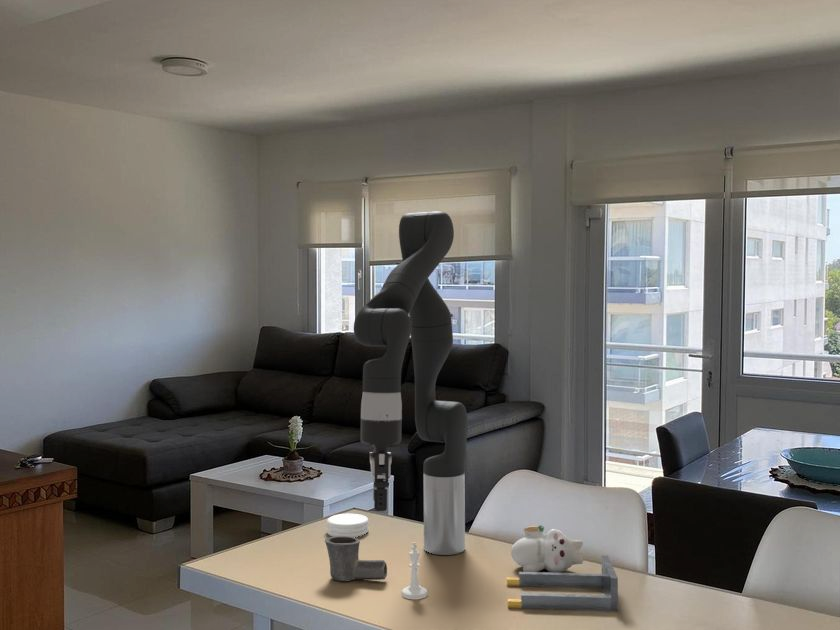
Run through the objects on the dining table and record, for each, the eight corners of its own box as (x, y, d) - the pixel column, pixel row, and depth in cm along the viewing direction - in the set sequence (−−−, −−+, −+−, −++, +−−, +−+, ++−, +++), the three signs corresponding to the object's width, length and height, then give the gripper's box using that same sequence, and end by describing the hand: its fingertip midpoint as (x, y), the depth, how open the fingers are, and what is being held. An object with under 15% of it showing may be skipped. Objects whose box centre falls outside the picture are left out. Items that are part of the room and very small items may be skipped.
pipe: (382, 587, 154) (381, 546, 154) (319, 582, 157) (319, 542, 156) (389, 576, 160) (389, 537, 160) (329, 572, 163) (329, 533, 162)
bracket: (506, 583, 155) (506, 553, 155) (607, 586, 154) (607, 555, 153) (507, 607, 143) (507, 575, 143) (617, 611, 142) (617, 578, 141)
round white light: (318, 533, 189) (318, 519, 189) (347, 524, 197) (347, 510, 197) (347, 542, 183) (347, 527, 183) (377, 532, 190) (377, 517, 190)
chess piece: (430, 591, 152) (430, 539, 151) (422, 600, 147) (422, 547, 147) (406, 588, 153) (406, 537, 153) (397, 597, 149) (397, 545, 148)
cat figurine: (506, 523, 164) (579, 520, 159) (516, 533, 171) (585, 531, 166) (506, 569, 160) (580, 569, 155) (515, 578, 166) (587, 578, 161)
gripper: (403, 420, 138) (402, 514, 137) (399, 413, 152) (398, 498, 151) (360, 420, 137) (359, 514, 137) (360, 413, 152) (359, 498, 151)
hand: (379, 505), depth 144 cm, fingers open, 8 cm apart
